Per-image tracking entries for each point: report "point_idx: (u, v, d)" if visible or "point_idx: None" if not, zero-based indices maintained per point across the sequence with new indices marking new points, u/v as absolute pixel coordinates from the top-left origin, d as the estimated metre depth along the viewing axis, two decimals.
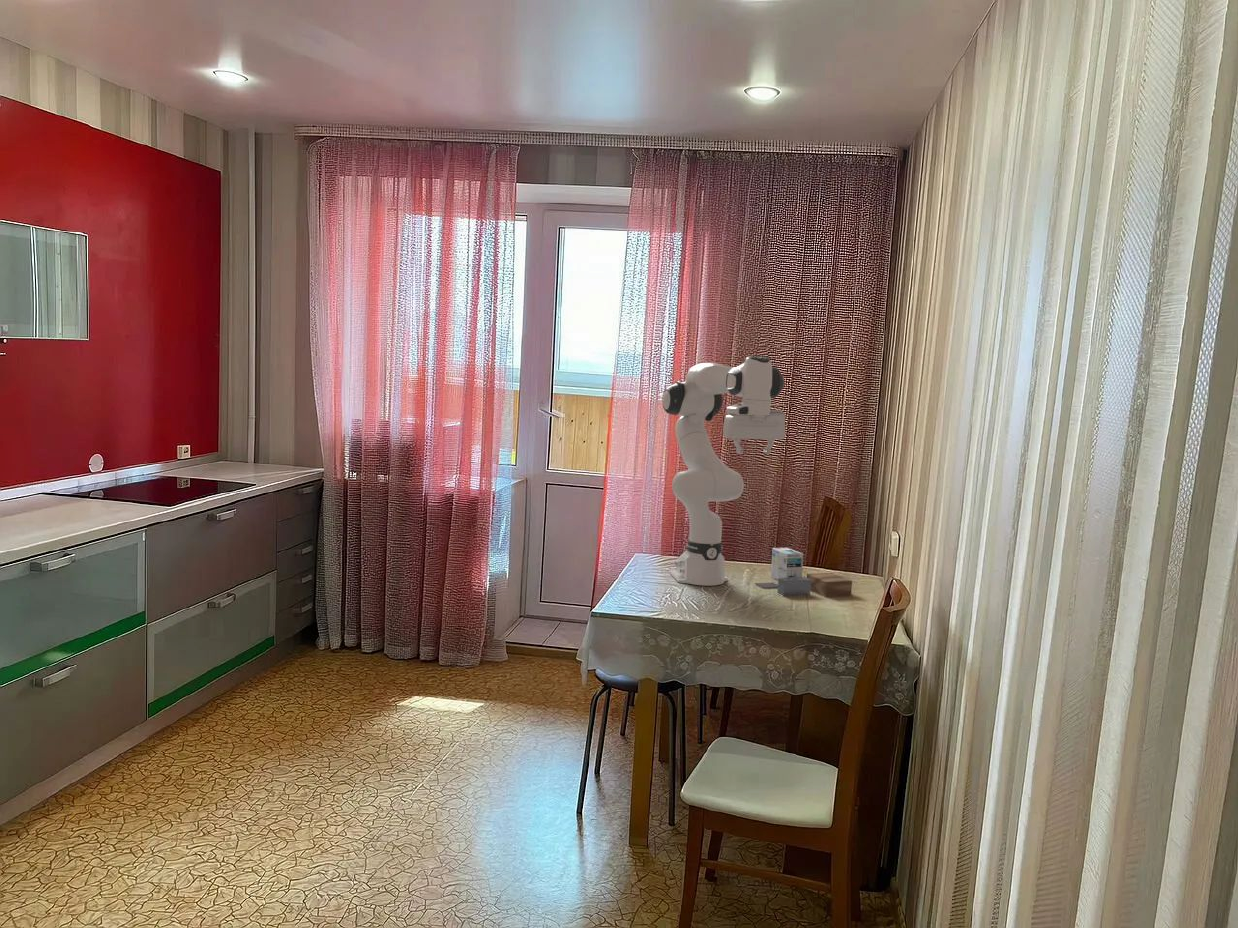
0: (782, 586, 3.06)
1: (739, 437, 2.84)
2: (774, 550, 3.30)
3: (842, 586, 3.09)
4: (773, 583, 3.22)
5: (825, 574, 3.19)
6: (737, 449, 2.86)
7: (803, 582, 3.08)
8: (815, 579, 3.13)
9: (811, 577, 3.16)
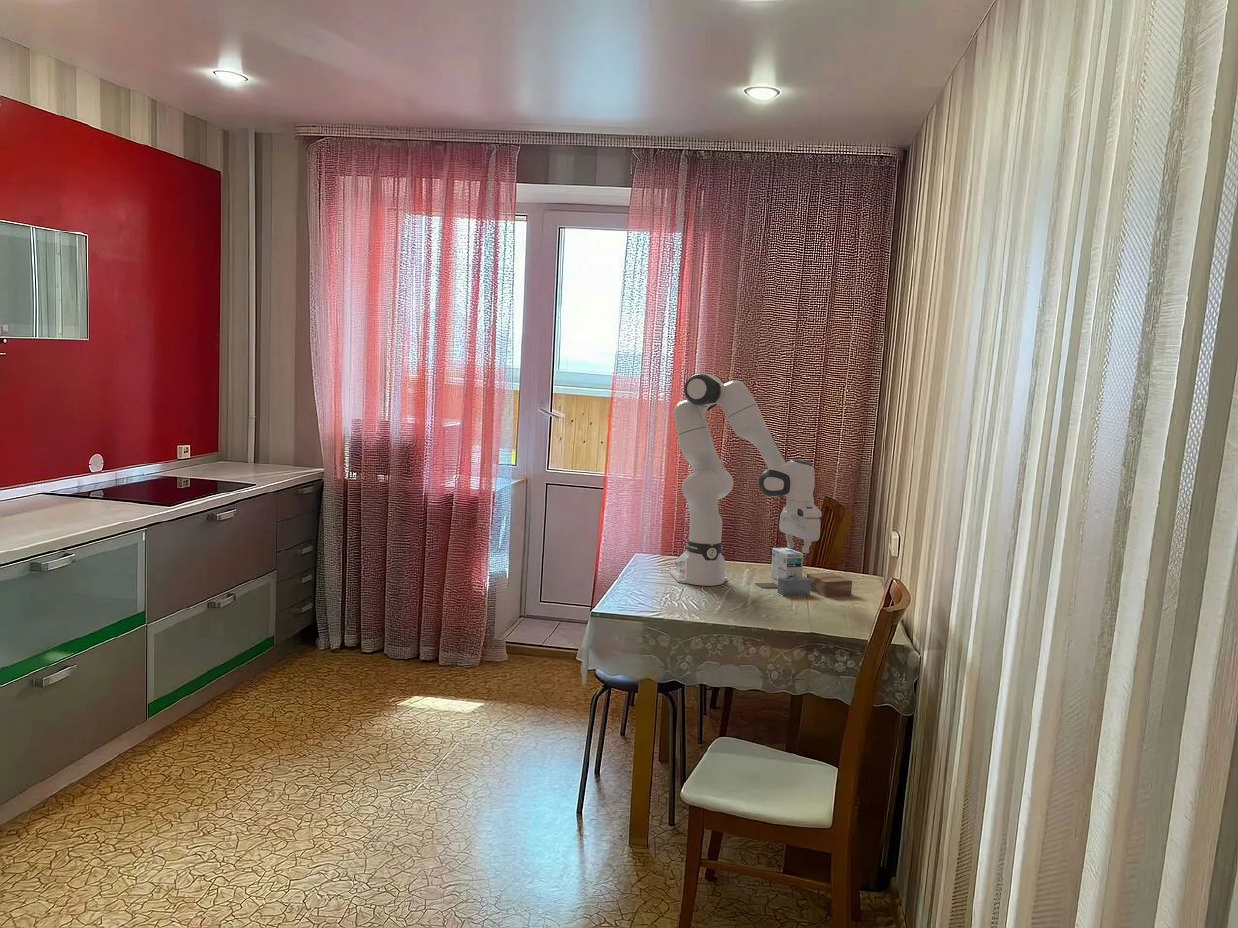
0: (782, 586, 3.06)
1: None
2: (774, 550, 3.30)
3: (842, 586, 3.09)
4: (773, 583, 3.22)
5: (825, 574, 3.19)
6: (806, 549, 3.02)
7: (803, 582, 3.08)
8: (815, 579, 3.13)
9: (811, 577, 3.16)
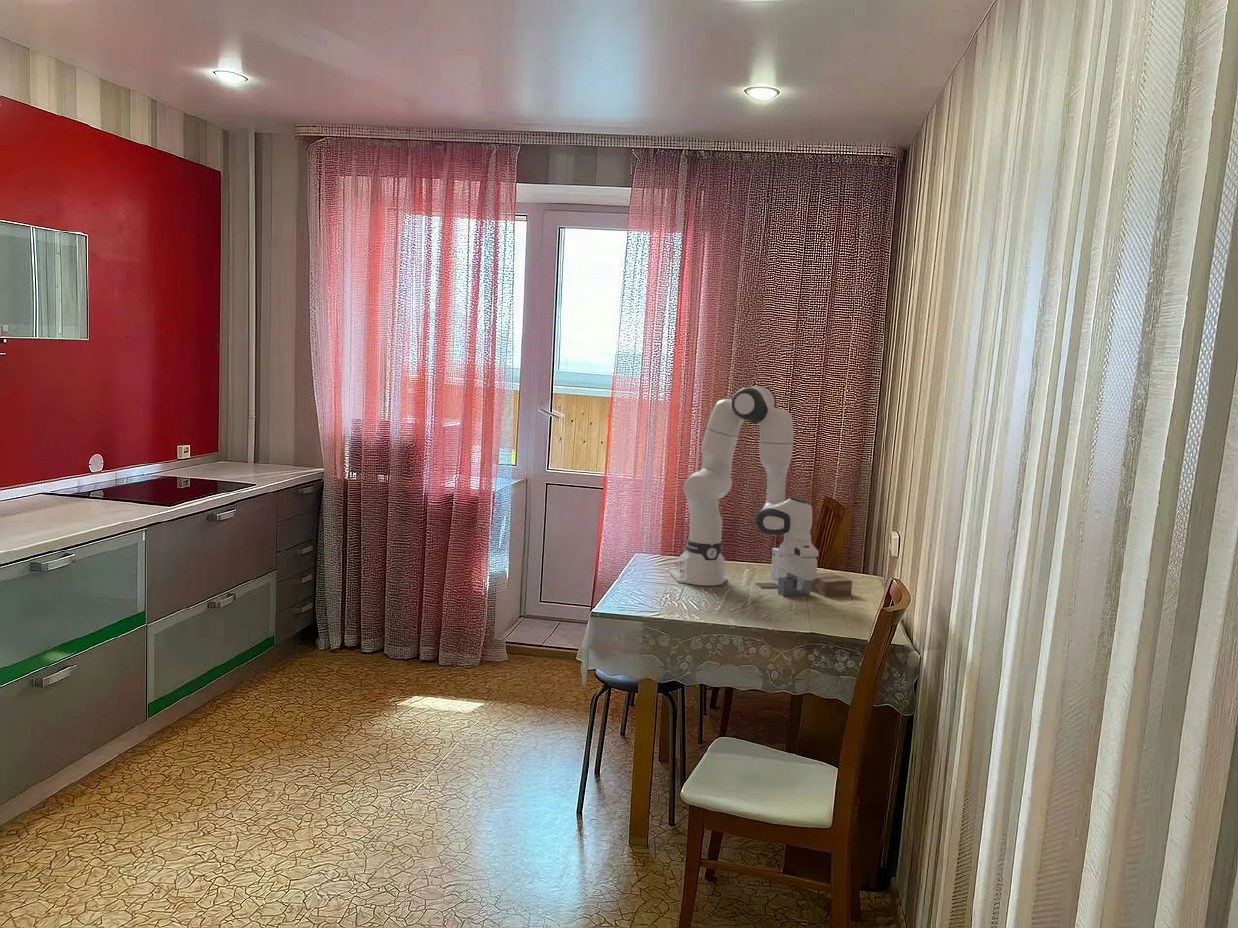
0: (782, 586, 3.06)
1: None
2: (774, 550, 3.30)
3: (842, 586, 3.09)
4: (774, 583, 3.22)
5: (825, 574, 3.19)
6: (799, 586, 3.06)
7: None
8: (815, 579, 3.13)
9: None
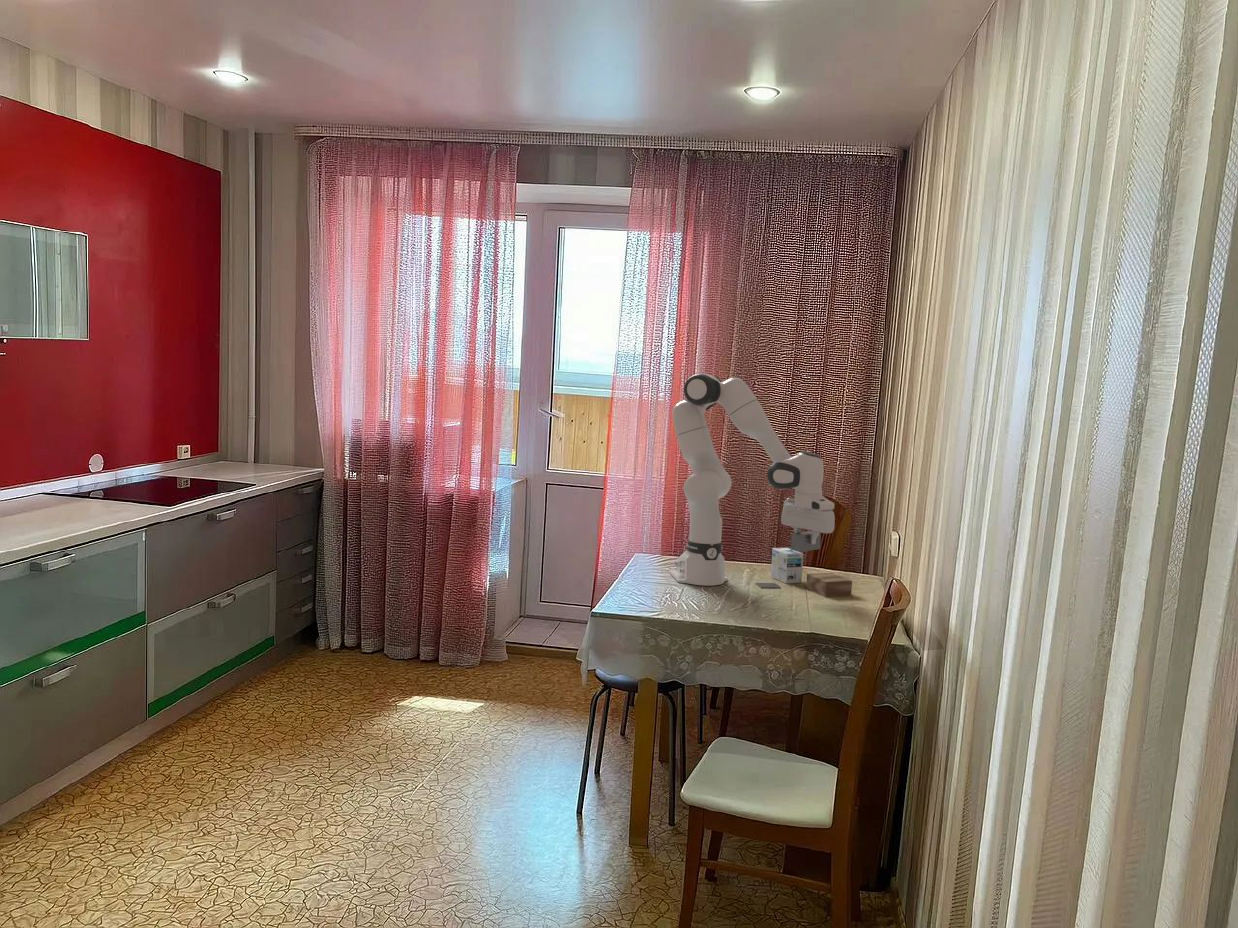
0: (798, 541, 3.04)
1: None
2: (774, 550, 3.30)
3: (842, 586, 3.09)
4: (774, 583, 3.21)
5: (825, 574, 3.19)
6: (813, 540, 3.05)
7: None
8: (815, 579, 3.13)
9: (811, 577, 3.16)
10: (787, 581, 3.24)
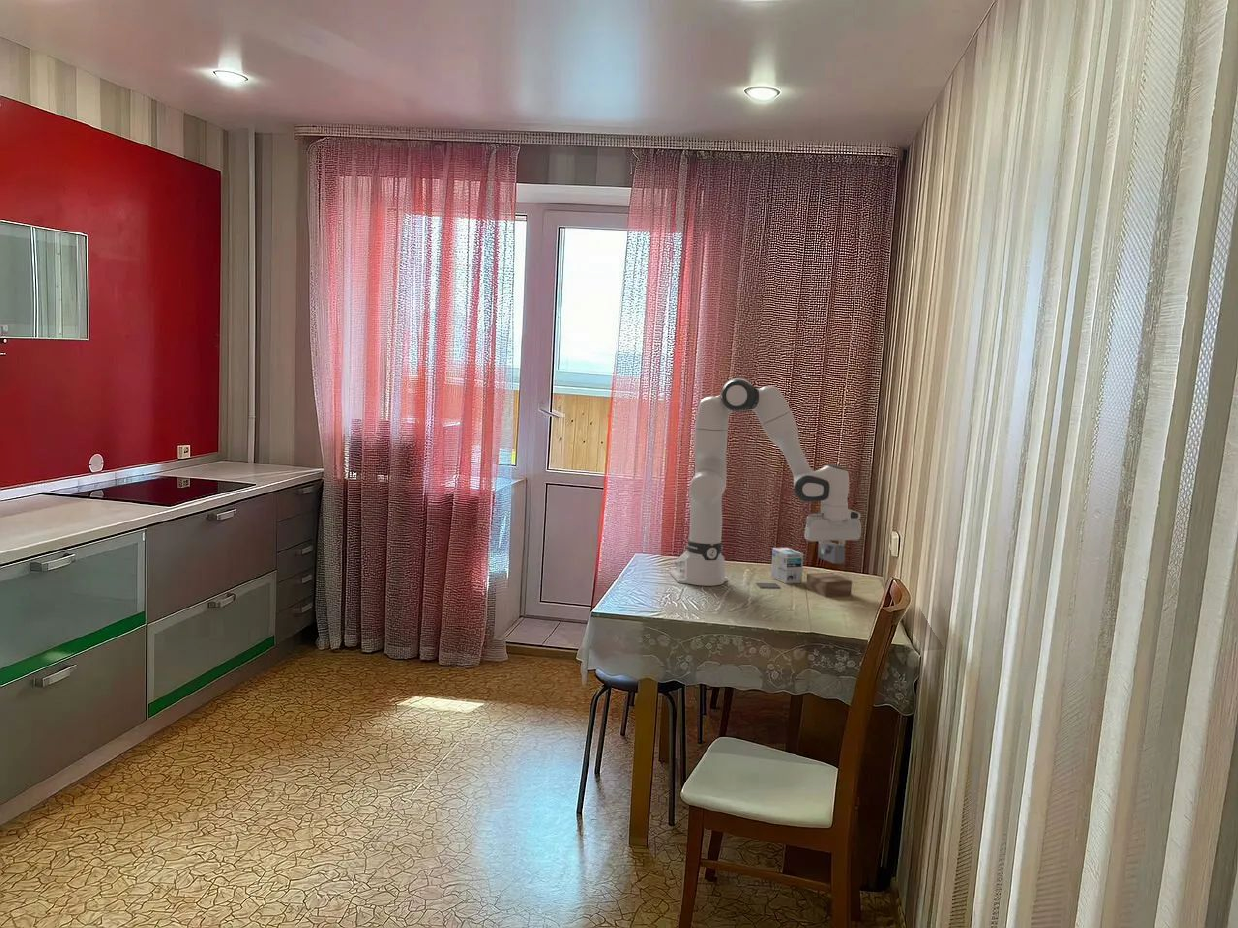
0: (842, 553, 3.09)
1: None
2: (774, 550, 3.30)
3: (842, 586, 3.09)
4: (775, 583, 3.21)
5: (825, 574, 3.19)
6: None
7: None
8: (815, 579, 3.13)
9: (811, 577, 3.16)
10: (787, 581, 3.24)
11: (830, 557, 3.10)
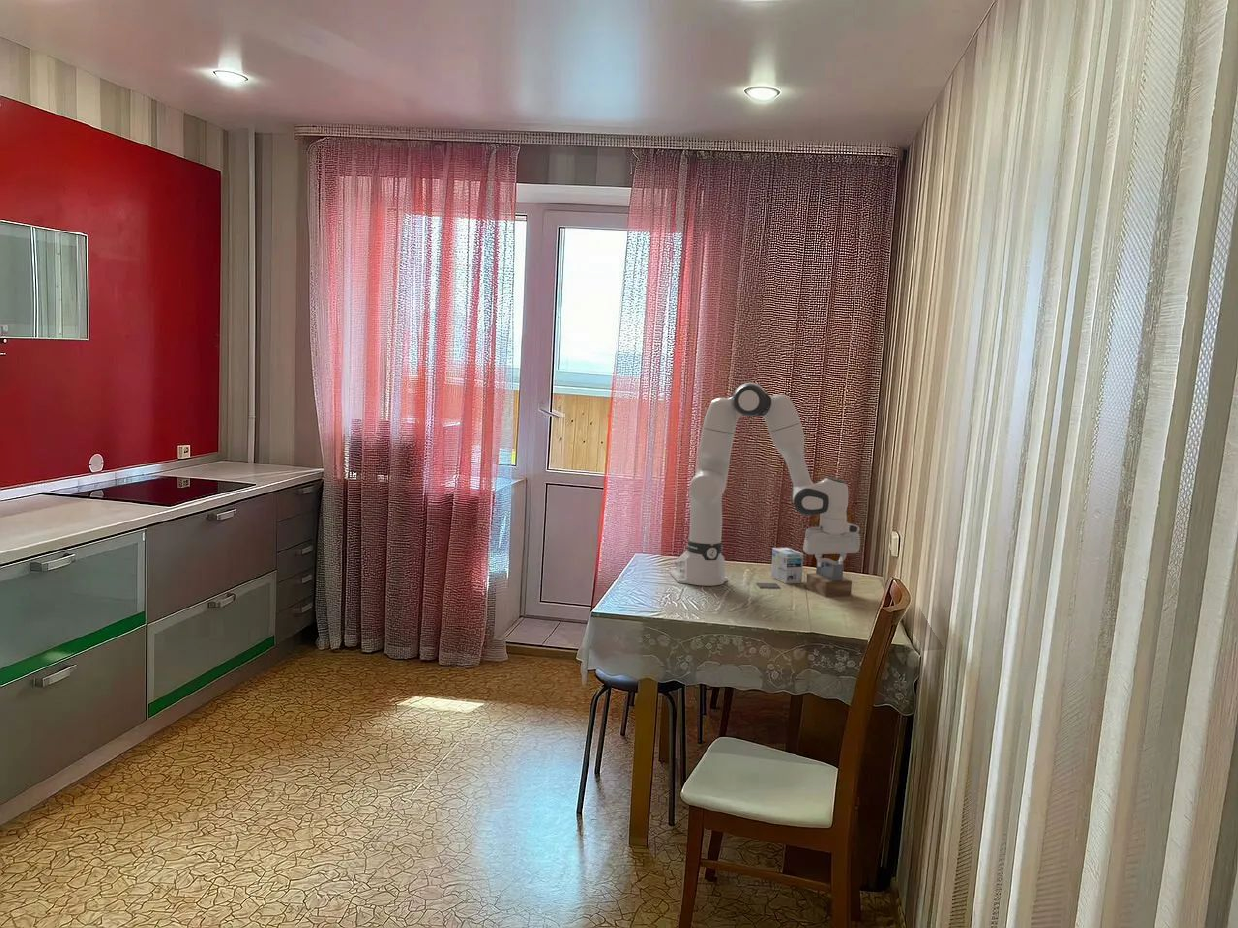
0: (840, 570, 3.10)
1: None
2: (774, 550, 3.30)
3: (842, 586, 3.09)
4: (775, 584, 3.21)
5: None
6: None
7: None
8: (815, 579, 3.13)
9: (811, 577, 3.16)
10: (787, 581, 3.24)
11: (828, 575, 3.11)
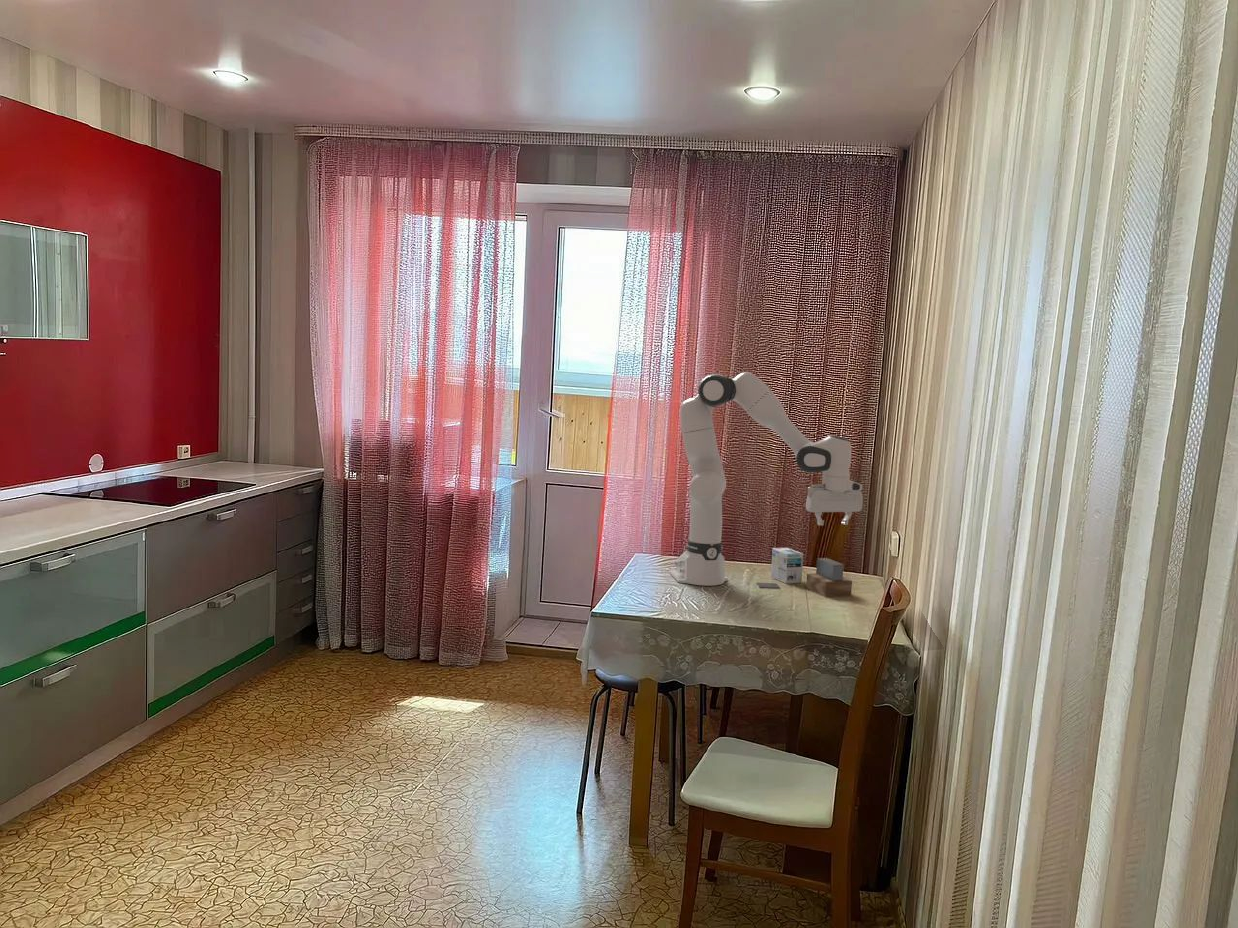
0: (840, 570, 3.10)
1: None
2: (774, 550, 3.30)
3: (842, 586, 3.09)
4: (775, 584, 3.21)
5: None
6: None
7: None
8: (815, 579, 3.13)
9: (811, 577, 3.16)
10: (787, 581, 3.24)
11: (828, 575, 3.11)
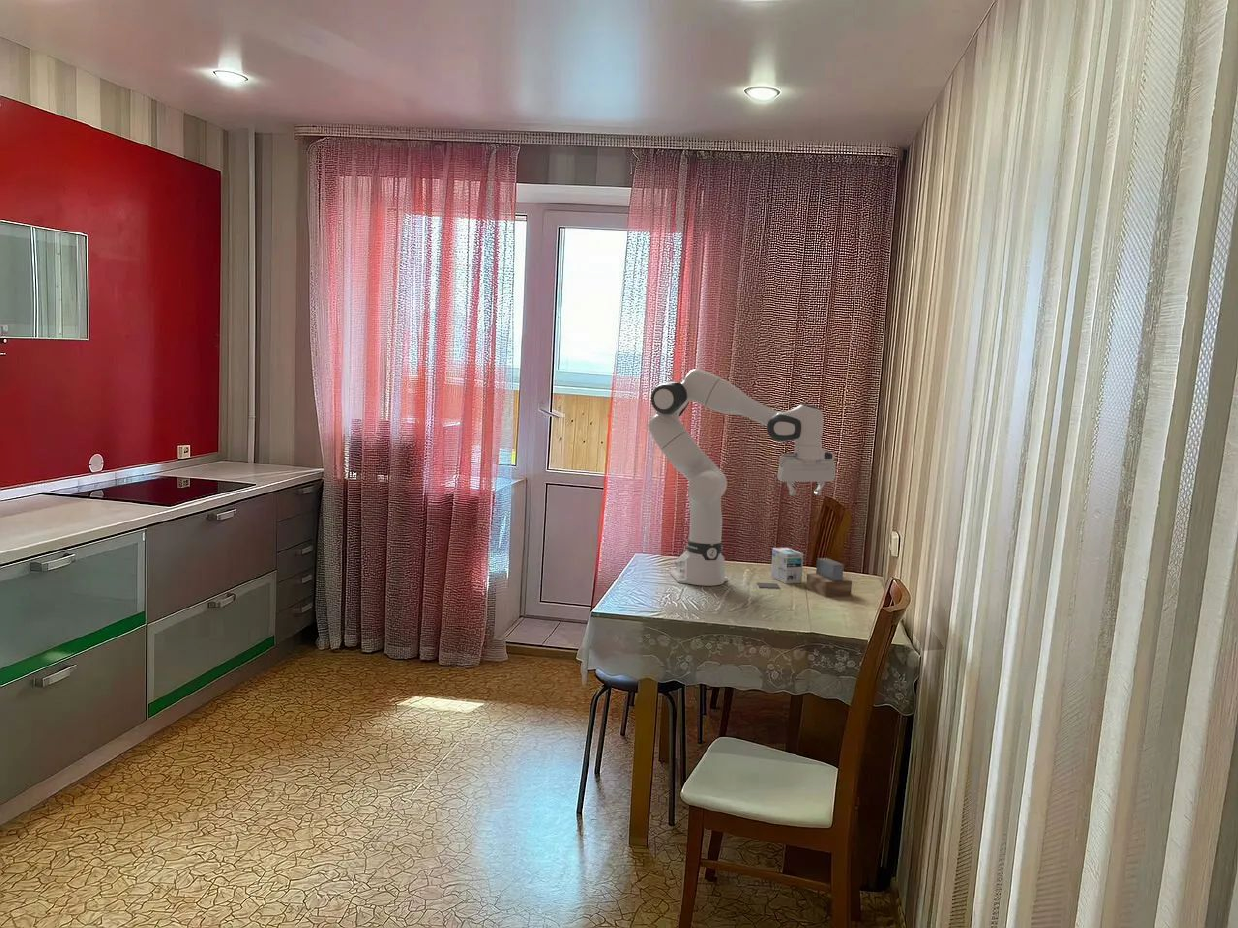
0: (840, 570, 3.10)
1: None
2: (774, 550, 3.30)
3: (842, 586, 3.09)
4: (775, 584, 3.21)
5: None
6: None
7: None
8: (815, 579, 3.13)
9: (811, 577, 3.16)
10: (787, 581, 3.24)
11: (828, 575, 3.11)
